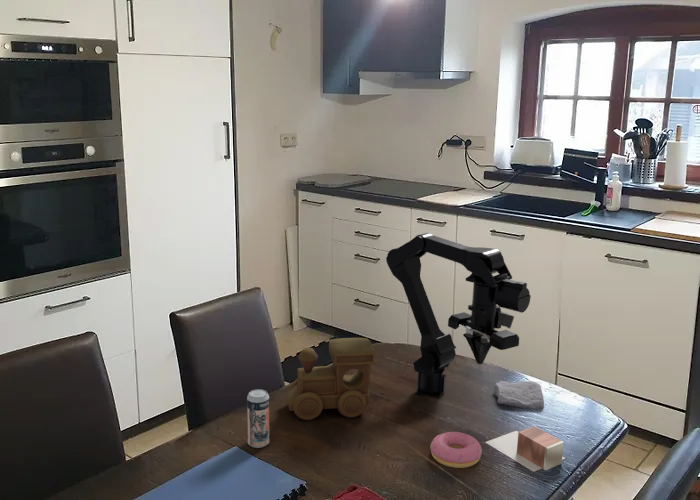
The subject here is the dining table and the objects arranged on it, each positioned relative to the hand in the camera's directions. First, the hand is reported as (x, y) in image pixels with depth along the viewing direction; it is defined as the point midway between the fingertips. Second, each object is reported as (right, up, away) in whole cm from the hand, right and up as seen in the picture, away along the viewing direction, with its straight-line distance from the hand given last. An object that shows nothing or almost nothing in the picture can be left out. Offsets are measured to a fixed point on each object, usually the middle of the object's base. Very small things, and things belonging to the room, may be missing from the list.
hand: (479, 363), depth 167 cm
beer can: (-51, -15, -15) cm, 56 cm away
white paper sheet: (+7, -16, -16) cm, 24 cm away
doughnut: (-9, -17, -19) cm, 27 cm away
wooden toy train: (-36, -12, +1) cm, 38 cm away
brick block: (+7, -14, -17) cm, 23 cm away
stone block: (+11, -11, +8) cm, 18 cm away
